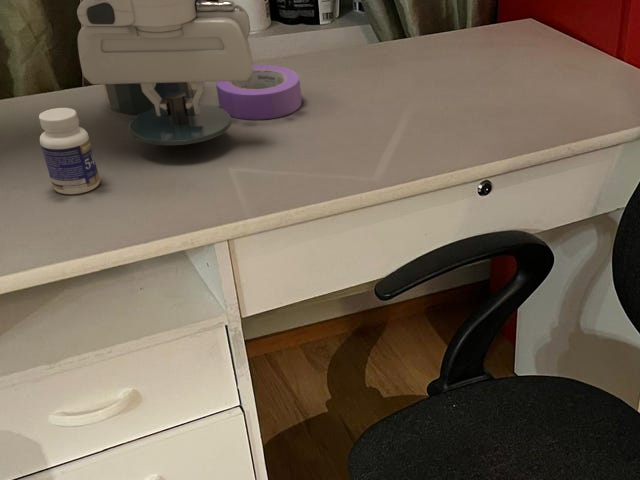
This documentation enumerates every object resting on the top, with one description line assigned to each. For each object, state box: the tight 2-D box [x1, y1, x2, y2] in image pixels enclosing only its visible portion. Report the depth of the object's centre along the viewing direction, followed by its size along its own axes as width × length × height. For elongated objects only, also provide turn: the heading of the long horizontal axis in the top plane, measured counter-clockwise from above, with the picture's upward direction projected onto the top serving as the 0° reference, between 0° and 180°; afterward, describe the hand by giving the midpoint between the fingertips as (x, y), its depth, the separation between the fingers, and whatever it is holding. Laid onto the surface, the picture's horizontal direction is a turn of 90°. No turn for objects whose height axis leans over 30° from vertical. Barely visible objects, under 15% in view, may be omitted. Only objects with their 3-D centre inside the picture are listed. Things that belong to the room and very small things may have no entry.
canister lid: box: [129, 92, 232, 146], centre depth 111 cm, size 13×13×5 cm
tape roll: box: [215, 64, 303, 121], centre depth 124 cm, size 12×12×4 cm
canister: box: [102, 82, 193, 116], centre depth 122 cm, size 12×12×12 cm
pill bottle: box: [38, 107, 101, 195], centre depth 101 cm, size 5×5×9 cm
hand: (179, 114), depth 111 cm, fingers closed on canister lid, 2 cm apart
